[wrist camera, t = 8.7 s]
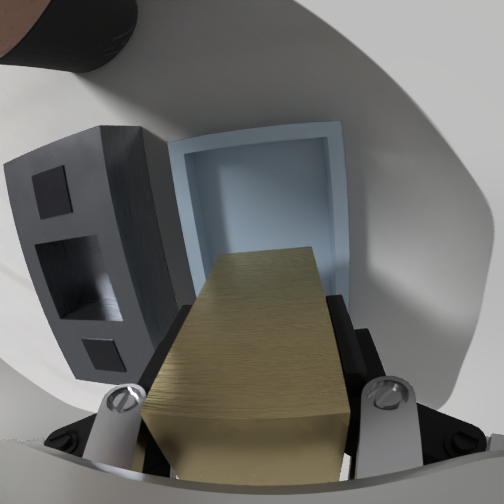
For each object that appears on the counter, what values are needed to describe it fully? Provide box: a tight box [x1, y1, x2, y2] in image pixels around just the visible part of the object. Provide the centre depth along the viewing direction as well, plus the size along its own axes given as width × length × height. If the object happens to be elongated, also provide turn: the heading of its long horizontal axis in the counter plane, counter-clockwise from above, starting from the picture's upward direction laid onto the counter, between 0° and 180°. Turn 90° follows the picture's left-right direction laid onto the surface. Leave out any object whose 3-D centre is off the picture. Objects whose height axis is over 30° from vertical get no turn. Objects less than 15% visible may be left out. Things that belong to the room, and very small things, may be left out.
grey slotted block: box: [3, 125, 179, 385], centre depth 18 cm, size 16×8×5 cm, turn 7°
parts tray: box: [167, 121, 350, 314], centre depth 18 cm, size 14×9×2 cm, turn 7°
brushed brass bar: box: [140, 246, 350, 486], centre depth 10 cm, size 4×4×9 cm
